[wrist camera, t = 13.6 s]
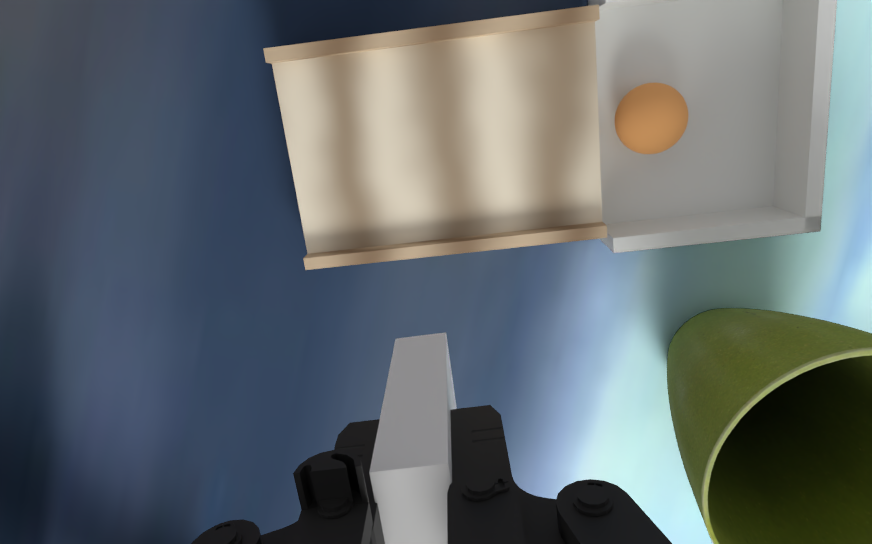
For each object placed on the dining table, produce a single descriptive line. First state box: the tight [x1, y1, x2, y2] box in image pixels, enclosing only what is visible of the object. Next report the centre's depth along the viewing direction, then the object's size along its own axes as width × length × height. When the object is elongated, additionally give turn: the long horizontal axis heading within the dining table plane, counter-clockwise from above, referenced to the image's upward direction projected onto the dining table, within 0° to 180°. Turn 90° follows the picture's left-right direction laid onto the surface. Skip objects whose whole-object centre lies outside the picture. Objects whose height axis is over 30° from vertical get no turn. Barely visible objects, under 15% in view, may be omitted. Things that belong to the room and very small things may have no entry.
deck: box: [263, 5, 607, 270], centre depth 39 cm, size 20×14×4 cm
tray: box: [588, 0, 837, 253], centre depth 38 cm, size 13×16×4 cm
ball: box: [615, 83, 688, 154], centre depth 37 cm, size 4×4×4 cm
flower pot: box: [667, 308, 872, 544], centre depth 37 cm, size 15×15×16 cm
